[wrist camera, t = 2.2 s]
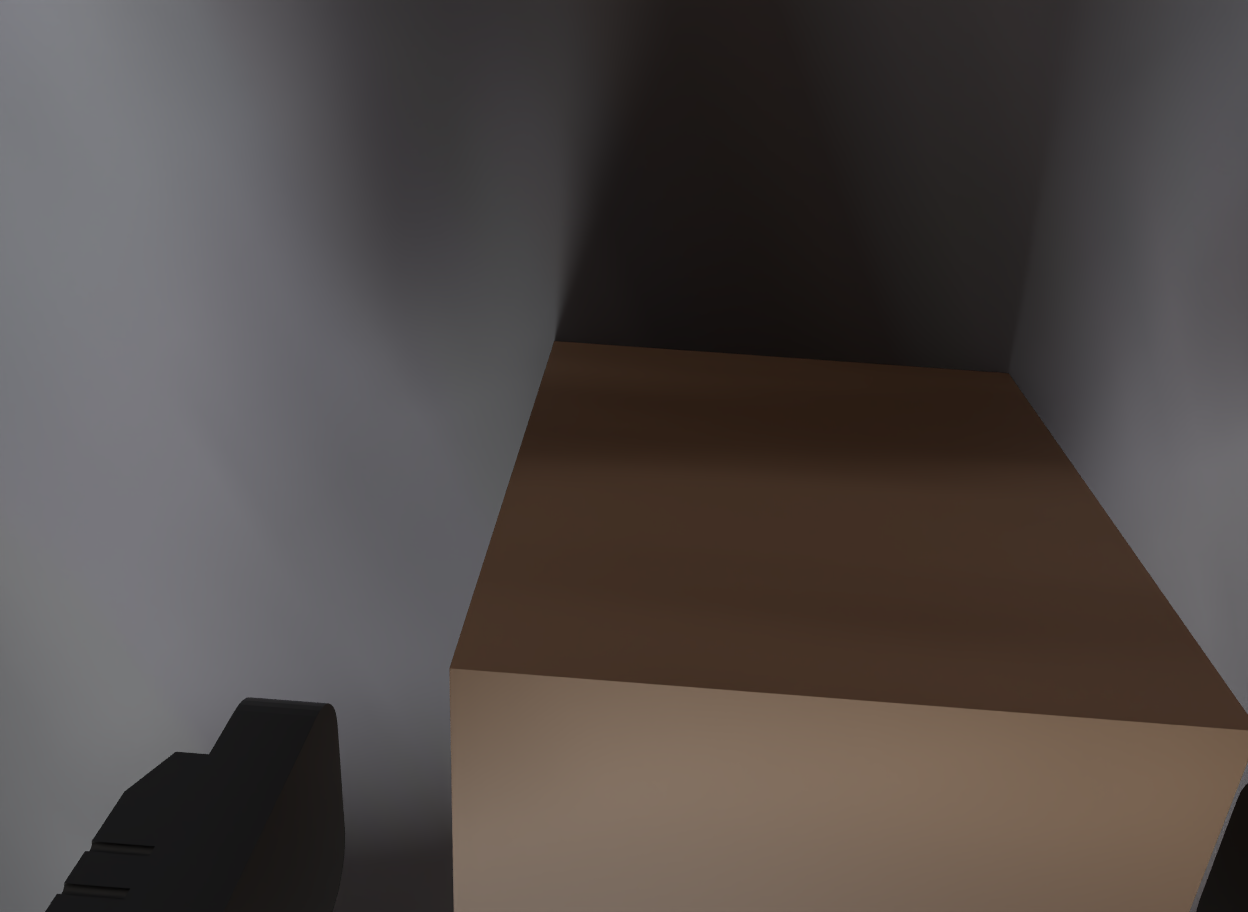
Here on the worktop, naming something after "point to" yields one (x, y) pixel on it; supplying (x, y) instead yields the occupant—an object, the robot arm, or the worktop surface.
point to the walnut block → (820, 657)
